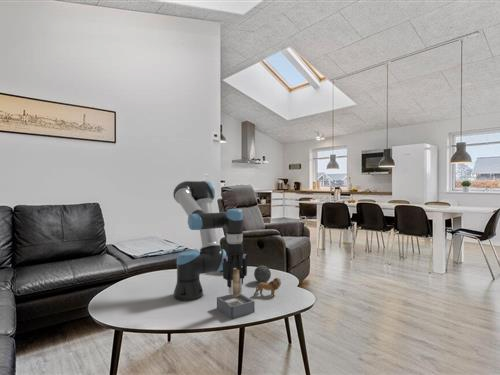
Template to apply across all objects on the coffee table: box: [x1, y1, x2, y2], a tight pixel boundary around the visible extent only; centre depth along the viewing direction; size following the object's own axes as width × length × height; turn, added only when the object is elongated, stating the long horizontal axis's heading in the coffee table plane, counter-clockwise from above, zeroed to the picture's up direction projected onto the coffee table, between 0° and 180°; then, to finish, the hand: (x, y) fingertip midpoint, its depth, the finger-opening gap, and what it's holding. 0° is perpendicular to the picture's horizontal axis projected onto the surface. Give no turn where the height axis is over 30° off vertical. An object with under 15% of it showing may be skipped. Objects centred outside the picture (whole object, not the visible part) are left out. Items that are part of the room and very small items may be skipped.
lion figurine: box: [253, 277, 282, 297], centre depth 155 cm, size 15×5×9 cm, turn 96°
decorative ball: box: [253, 265, 272, 283], centre depth 176 cm, size 10×10×10 cm
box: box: [216, 293, 256, 320], centre depth 137 cm, size 14×12×5 cm
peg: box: [231, 268, 240, 297], centre depth 136 cm, size 4×4×12 cm
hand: (235, 292), depth 136 cm, fingers closed on peg, 4 cm apart
